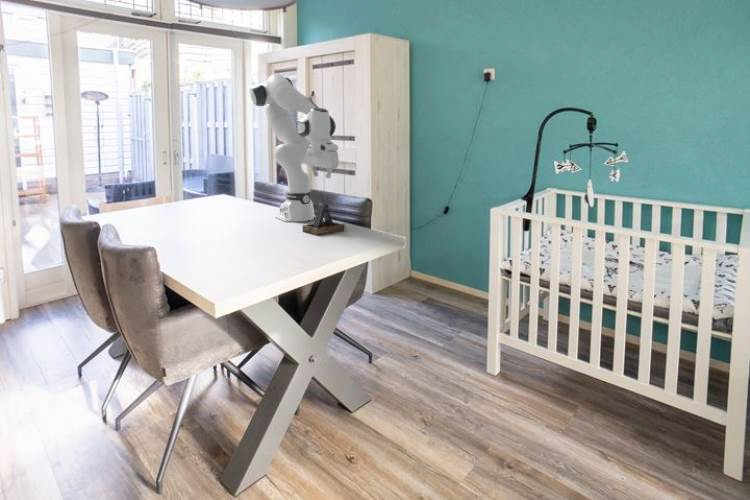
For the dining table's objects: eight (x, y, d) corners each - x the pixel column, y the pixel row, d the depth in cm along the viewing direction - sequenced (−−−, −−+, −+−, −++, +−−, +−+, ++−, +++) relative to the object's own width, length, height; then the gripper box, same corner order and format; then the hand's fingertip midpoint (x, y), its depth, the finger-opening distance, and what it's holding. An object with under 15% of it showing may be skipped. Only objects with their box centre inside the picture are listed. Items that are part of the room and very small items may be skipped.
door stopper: (317, 231, 237) (316, 205, 234) (312, 229, 242) (311, 203, 239) (335, 229, 241) (334, 203, 238) (330, 227, 246) (329, 201, 243)
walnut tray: (302, 231, 241) (302, 225, 240) (328, 227, 251) (328, 221, 250) (318, 236, 232) (318, 229, 232) (344, 230, 242) (344, 224, 241)
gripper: (301, 145, 237) (302, 175, 241) (329, 147, 223) (329, 179, 226) (312, 144, 241) (314, 174, 245) (340, 146, 227) (341, 178, 230)
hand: (321, 177), depth 235 cm, fingers open, 8 cm apart
